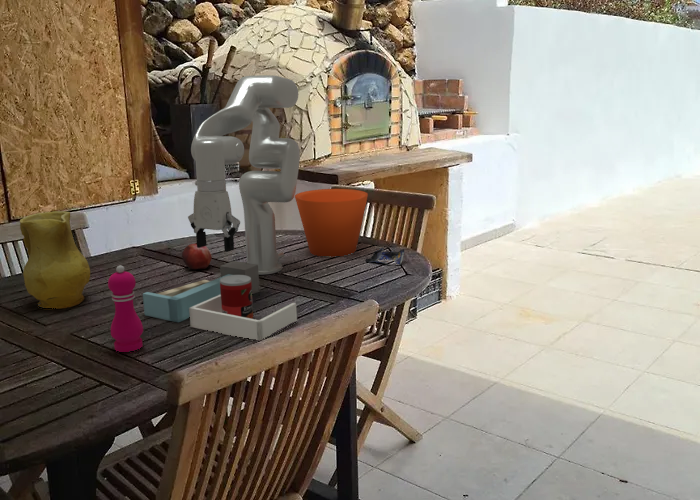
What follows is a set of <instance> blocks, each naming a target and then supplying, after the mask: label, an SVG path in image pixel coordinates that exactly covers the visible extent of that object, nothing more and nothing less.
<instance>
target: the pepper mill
mask: <svg viewBox="0 0 700 500" xmlns="http://www.w3.org/2000/svg"><path fill="white" fill-rule="evenodd" d="M115 269H116V271H115V272H114V273H112V274H111V275H110V276H109V278H108V281H107V287H108V289H109V290H110V291H111V292H112V293H111V300H112V301H113V302H114V308H115V309H114V310H115V311H114V317H113V319H112V321H111V324H110V335H111V338H112V339H113V340H115V341H114V342H113V345H114V350H116V351H115V352H117V351H119V352H129V351H134V350H137V349H139V350H141V349H142V348H143V338H142V337H141V336H142V334H143V332H144V326H143V325H144V324H143V323H142V321H141V319H140V317H139V315H138V313H137V312H136V310H135V307H134V299H135V291H134V289H135V287H136V284H137V282H136V278H135V276H134V275H133V274H132V273H130V272H129V271H125V266H123V265H117V266H116V268H115ZM141 347H142V348H141ZM140 348H141V349H140ZM137 351H138V350H137ZM119 352H118V353H119ZM134 352H135V351H134Z"/></svg>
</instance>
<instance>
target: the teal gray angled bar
mask: <svg viewBox="0 0 700 500" xmlns="http://www.w3.org/2000/svg"><path fill="white" fill-rule="evenodd" d="M219 270H220V272H219V273H220V277H217V278H216V279H213V280H209V281H210V282H208V283H205V284H203V285H200V286H198V287H195V288H193V289H190V290H188V291H185V292H183V293H181V294H178V295H176V296H173V297H171V296H166V295H161V294H157V293H155V292H151V291H146V292H145V291H144V293H142V300H143V301H142V302H143V310H144V311H143V313H144V316H147V317H151V318H156V319H161V320H166V321H170V322H175V323H181V322H183V321H186V320H188V319H190V318H189V317H190V314H189V308H190V307H192V306H195V305H197V304H199V303H202V302H204V301H206V300H209V299H211V298H213V297H216V296H218V295H220V294H221V291H220V279H221V278H223V277H225V276H230V275H246V276H249V277H250V278H251V283H252V294H253V295H255V294H256V293H259V292H260V277H259V273H258V265H257V264H250V263H247V262H244V261H243V262H241V261H236V260H232V261H230V262H227V263H225V264H222V265H219Z"/></svg>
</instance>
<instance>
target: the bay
mask: <svg viewBox="0 0 700 500" xmlns="http://www.w3.org/2000/svg"><path fill="white" fill-rule="evenodd" d="M297 313H298V312H297V303H296V302H292V303H290V304H288V305H285V306H284V307H282V308H281V309H278V310H276V311H274V312H272V313H271V314H268V315H266V316H264V317H262V318H261V319H256V318H255V319H254V318H253V319H250V318H245V317H240V316H235V315H230V314H225V313H222V304H221V294H220V295H218V296H216V297H213V298H211V299H209V300H206V301H204V302H202V303H199V304H197V305H195V306H192V307H190V308H189V314H190V318H189V323H190V324H189V325H190V326H189V327H191V328H195V329H198V330H204V331H207V330H208V332H212V331H214V332H213V333H216V332H218V333H217V334H221V333H222V334H221V335H226V336H230V335H231V337H235V336H237V337H236V338H239V337H243V338H242V339H244V338H249V339H256V340H262V339H263V338H264V339H265V337H267V336H270V335H271V334H272V333H274V332H276V331H277V330H279V329H281V328H283V327H285V326H287V325H288V324H290V323H292V322H294V321H297V322H298V317H297V316H298V314H297Z"/></svg>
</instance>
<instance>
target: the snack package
mask: <svg viewBox="0 0 700 500" xmlns="http://www.w3.org/2000/svg"><path fill="white" fill-rule="evenodd" d="M384 250H385V248H384V247H382V248H378V249H376V250H375V251H374V252H373V254H372V255H371V257H369V258H368V257H367V258H365V260H364V262H365V263H366V262H368V263H370V262H376V263H375V264H385V265H388V262H383V261H382V262H379V261H378V260H385V259H386V260H387V259H388V260H393V261H394V262H396V263H397V264H399V265H400V266H401V264H402V262H403V260H404V255H405V249H401V250H399V251H393V250H390V251H388V250H387V251H384Z"/></svg>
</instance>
